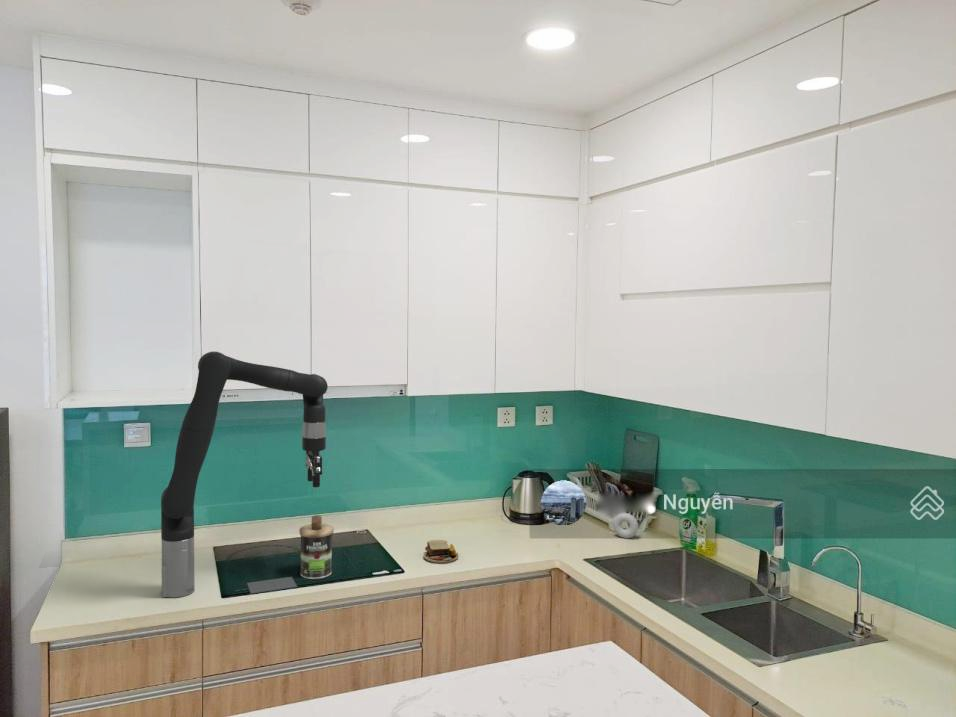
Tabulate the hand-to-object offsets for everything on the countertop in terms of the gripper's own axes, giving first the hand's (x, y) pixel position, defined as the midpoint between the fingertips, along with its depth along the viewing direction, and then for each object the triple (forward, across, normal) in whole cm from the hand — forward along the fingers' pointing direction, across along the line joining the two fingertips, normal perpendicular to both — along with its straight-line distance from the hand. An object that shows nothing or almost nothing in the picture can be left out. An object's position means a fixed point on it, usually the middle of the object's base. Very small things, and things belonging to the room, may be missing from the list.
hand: (313, 484), depth 227 cm
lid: (+16, 0, +1) cm, 16 cm away
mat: (+30, +6, -14) cm, 34 cm away
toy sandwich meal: (+30, +1, +45) cm, 54 cm away
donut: (+29, +8, +121) cm, 125 cm away
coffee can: (+30, 0, +1) cm, 30 cm away
